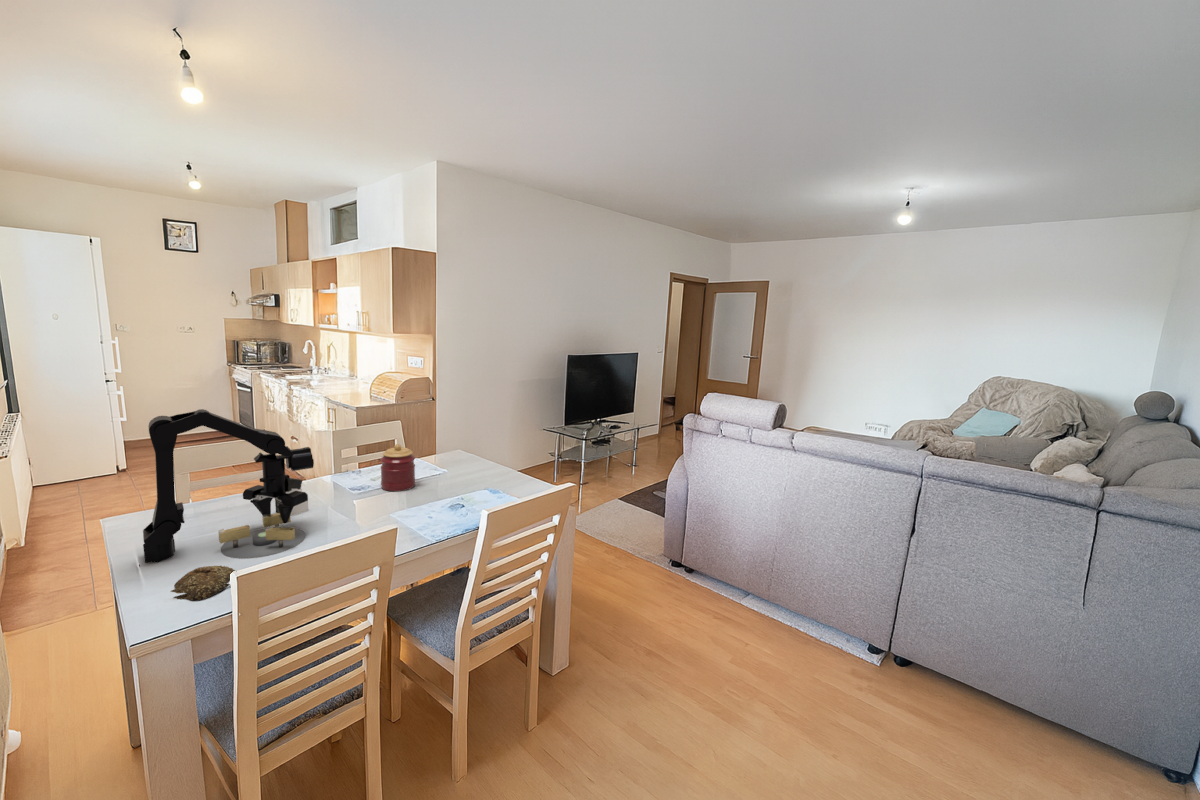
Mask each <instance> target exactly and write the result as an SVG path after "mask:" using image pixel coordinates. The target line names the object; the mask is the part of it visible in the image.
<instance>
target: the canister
mask: <svg viewBox="0 0 1200 800" xmlns="http://www.w3.org/2000/svg"><path fill="white" fill-rule="evenodd" d="M413 454H414V452H413V450H411V449H409V448H407V447H404V446H402V445H401V444H400V443H399V444H395V445H394V447H391V448H387V449H386V450H385V451H383V452H382V455H383V456H381V458H380V461H381V466H380V473H381V474H380V477H381V478H380V480H381V481H380V486H381V488H382V489H383V490H384V491H388V492H399V491H407V490H410V489H412V488H413V487H415V485H416V472H415V471H416V470H415V467H416V464H415V462H414V461H415V460H416V456H415V455H413Z"/></svg>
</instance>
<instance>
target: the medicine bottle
mask: <svg viewBox="0 0 1200 800" xmlns="http://www.w3.org/2000/svg"><path fill="white" fill-rule="evenodd" d="M302 490H303V489H302V486H301V489H292V491H289V492H286V494H289V493H292V492H294V491H300V492H303V491H302ZM274 502H275V505H274V506H275V514H276V513H280V512H279V509H278V505H280V504H282V500H281V499H275V498H274ZM308 511H309V500H308V501H305V502H303V503H301V504H299V505H296V506H294V507H293V509H292V512H291V514H290V517H292V516H295V515H299V514H302V513H305V512H308Z"/></svg>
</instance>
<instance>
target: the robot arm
mask: <svg viewBox="0 0 1200 800" xmlns="http://www.w3.org/2000/svg"><path fill="white" fill-rule="evenodd" d="M147 427H148V434H149V437H150V440H151V444H152V447H153V449H154V450H153V451H154V454H155V455H154V456H155V481H156V502H155V505H154V511H153V514H152V521H151V522H150V523H149V524H148V525H147V526H146V527H145V528H143V530H142V534H143V537H142V538H143V539H142V540H143V544H142V546H143V547H142V548H143V556H144V563H146V564H147V563H153V564H155V563H160V562H162V561H167V560H168V559H171V558H172V557H173V556H175V552H176V544H175V542H176V541H175V539H174V535H175V534H177V533H178V532H179V531H180V530H181V528H182V524H186V523H185V517H184V511H185V510H184V509H185V508H184V505H183V504H184V503H183V502H178V503H177V501H176V496H175V495H176V494H175V492H176V491H175V464H174V450H175V446H176V443H177V439H178V435H181V434H183V433H186V432H189V431H191V430H194V429H197V428H199V427H206V428H209V429H212V430H215V431H217V432H219V433H223V434H225V435H228V436H231V437H233V438H236V439H240V440H242V441H245V442H247V443H250V444H251V445H252V446H254V447H256V448H257V449H259V450H261V451H262V452H265V453H267V454H264V453H262V452H258V454H257V455H256V456H255V457H254V458H253V460H254V462H255V463H257V464H259V463H261V467H262V469H261V470H262V477H260V478H259V482H260V483H262V484H263V485H260V484H257V485H255V486H254V485H253V486H251V487H248V488H245V489H244V491H243V492H242V499H243V500H246V501H247V500H248V501H250V503H252V505H254V507H255V508H256V509H257V510H258V512H259V513H260V514H261V516H262V515H264V514H267V515H271V514H272V501H273V499H274V500H275V499H281V500H282V504H280V505H278V509H279V512H280V515H281V518H282V521H283V524H284V525H286V524H287V522H288V520H289V517H290V518H291V516H290V514H291V512H292V509H293V507H294V506H296V505H299V504H301V503H303V502H305V501H308V502H309V495H308V493H307V492H306V491H302V492H300V491H294V492H292V493H289V494H286V492H289V491H292V489H301V487H302V484H303V478H302V479H300V478H294V477H291V476H290V475H289V474H286V468H287V469H291V470H290V471H292V472H295V471H301V470H309V469H313V468H314V466H315V465H314V464H315V463H314V462H315V461H314V458H313V457H314V456H313V453H312V449H311V447H309V446H307V447H306V446H305V447H302V448H296V449H295V448H294V449H293V448H292V449H291V448H290V447H289V446H287V445H286V442H285V441H286V440H285V439H284V438H283V437H282V436H281V435H280V434H279V433H278V432H275V431H271V430H267V429H262V428H261V429H259V428H254V427H253V428H252V427H251V426H250V427H249V426H248V425H245V424H242V423H240V422H236V421H234V420H231V419H228V418H226V417H223V416H222V415H218V414H216V413H212V412H210V411H209V410H207V409H203V408H202V409H200V408H199V409H197V410H194V411H189V412H185V413H179V414H178V413H177V414H175V415H170V416H168V415H158V416H156V417H154V418H152V419H151V420H149V422H148V426H147ZM276 454H278V455H276ZM288 523H289V522H288ZM140 566H141V565H140V563H139V564H138V567H140Z"/></svg>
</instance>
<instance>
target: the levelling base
mask: <svg viewBox="0 0 1200 800" xmlns="http://www.w3.org/2000/svg"><path fill="white" fill-rule="evenodd" d="M279 527H280V528H295V538H294V539H293V540H283V545H284V546H283V547H281V548H279V544H278V540H266V532H265V529H266V528H267V527H263V528H258V529H253V530H250V537H246V538H242V539H238V547H237V548H233V541H229V542H225V543H222V545H221V546H220V553H221V554H222V555H223V556H225V557H227V558H231V559H239V560H240V559H241V560H246V559H247V560H248V559H249V560H250V559H257V558H258V559H259V558H264V557H265V558H266V557H270V556H274V555H278V554H281V553H284V552H286V551H288V550H289V551H290V550H291V549H294V548H296V547H297V546H299V545H300V544H302V543H303V542H304V541H305V540H306V538H307V533H306V531H304V530H303V529H301V528H299V527H295V526H283V525H282V526H279ZM273 528H275V526H273Z"/></svg>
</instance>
